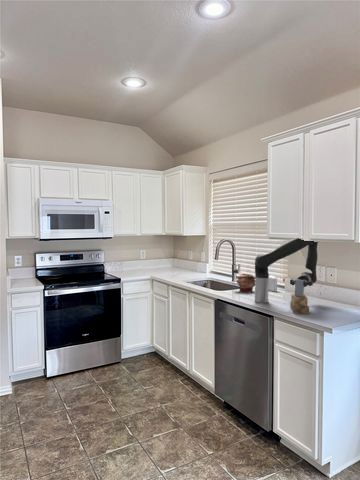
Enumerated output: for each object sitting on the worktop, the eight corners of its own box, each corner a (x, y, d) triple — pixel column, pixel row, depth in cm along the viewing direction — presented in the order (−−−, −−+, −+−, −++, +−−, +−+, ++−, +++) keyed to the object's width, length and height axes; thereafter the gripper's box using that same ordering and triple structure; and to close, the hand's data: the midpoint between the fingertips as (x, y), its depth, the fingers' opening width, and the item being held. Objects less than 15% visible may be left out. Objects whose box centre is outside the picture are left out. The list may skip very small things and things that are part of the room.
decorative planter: (252, 289, 291) (253, 273, 291) (262, 291, 280) (262, 274, 280) (233, 291, 283) (233, 274, 282) (241, 293, 272) (242, 276, 271)
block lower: (293, 314, 212) (293, 306, 212) (290, 308, 226) (290, 301, 225) (309, 315, 210) (309, 306, 210) (304, 309, 224) (304, 301, 224)
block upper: (293, 305, 213) (293, 297, 213) (291, 301, 224) (291, 293, 224) (307, 306, 211) (307, 298, 211) (304, 302, 223) (304, 294, 223)
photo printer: (265, 289, 291) (265, 275, 290) (268, 289, 293) (269, 274, 292) (274, 291, 282) (274, 276, 281) (277, 291, 284) (278, 276, 283)
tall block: (294, 295, 217) (295, 279, 217) (296, 294, 221) (297, 279, 221) (302, 296, 215) (303, 280, 215) (303, 295, 219) (304, 280, 219)
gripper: (293, 274, 233) (287, 277, 219) (315, 276, 226) (310, 279, 212) (292, 285, 234) (286, 288, 219) (315, 287, 226) (310, 291, 212)
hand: (298, 284), depth 216 cm, fingers open, 6 cm apart
